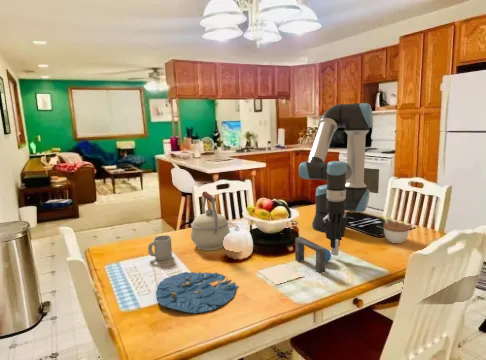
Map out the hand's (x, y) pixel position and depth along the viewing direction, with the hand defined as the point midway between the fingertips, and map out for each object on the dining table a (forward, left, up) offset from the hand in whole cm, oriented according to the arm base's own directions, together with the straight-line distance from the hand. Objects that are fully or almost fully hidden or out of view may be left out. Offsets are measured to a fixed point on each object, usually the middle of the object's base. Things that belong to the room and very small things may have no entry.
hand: (334, 254), depth 142 cm
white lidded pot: (0, +38, -2) cm, 38 cm away
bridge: (0, -13, -2) cm, 13 cm away
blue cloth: (-5, -60, -3) cm, 60 cm away
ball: (0, -6, +1) cm, 6 cm away
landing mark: (0, -27, -2) cm, 27 cm away
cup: (-40, -63, -2) cm, 75 cm away
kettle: (-44, -38, -2) cm, 58 cm away
